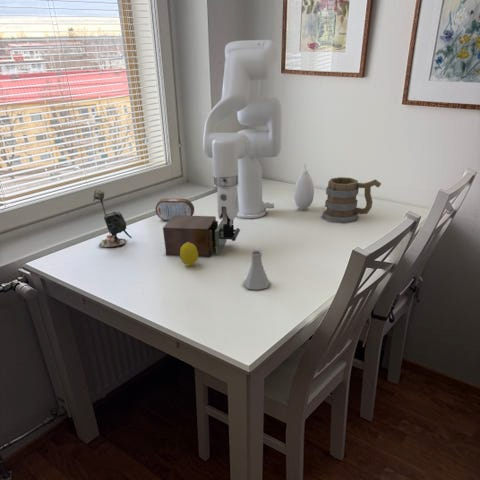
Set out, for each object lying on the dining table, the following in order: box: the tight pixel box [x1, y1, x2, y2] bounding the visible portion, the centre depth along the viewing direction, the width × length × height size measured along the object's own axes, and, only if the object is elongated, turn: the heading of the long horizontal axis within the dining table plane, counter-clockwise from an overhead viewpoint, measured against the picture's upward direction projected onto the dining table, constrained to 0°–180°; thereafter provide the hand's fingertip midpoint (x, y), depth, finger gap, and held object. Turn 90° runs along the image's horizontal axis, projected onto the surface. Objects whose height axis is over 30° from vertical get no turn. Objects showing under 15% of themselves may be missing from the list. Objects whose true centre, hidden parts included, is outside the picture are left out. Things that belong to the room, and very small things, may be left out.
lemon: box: [179, 242, 199, 267], centre depth 143 cm, size 6×6×8 cm
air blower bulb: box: [293, 163, 315, 211], centre depth 184 cm, size 8×8×18 cm
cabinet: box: [162, 215, 217, 258], centre depth 154 cm, size 15×12×10 cm
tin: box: [155, 197, 195, 222], centre depth 180 cm, size 15×3×8 cm, turn 84°
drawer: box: [208, 219, 241, 255], centre depth 153 cm, size 19×11×8 cm, turn 80°
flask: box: [244, 249, 270, 291], centre depth 130 cm, size 7×7×10 cm
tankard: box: [322, 176, 382, 224], centre depth 174 cm, size 20×13×15 cm, turn 68°
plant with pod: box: [92, 188, 133, 248], centre depth 158 cm, size 8×11×20 cm
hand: (228, 236), depth 152 cm, fingers closed
